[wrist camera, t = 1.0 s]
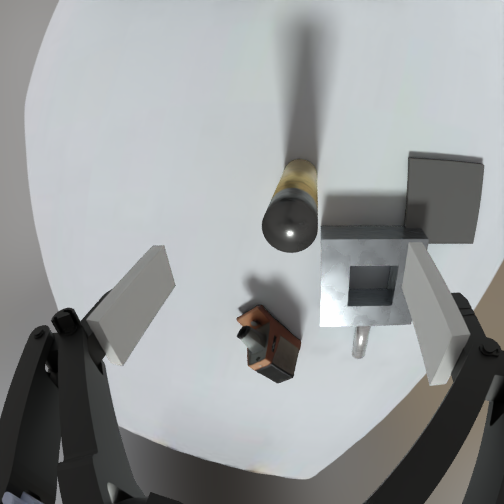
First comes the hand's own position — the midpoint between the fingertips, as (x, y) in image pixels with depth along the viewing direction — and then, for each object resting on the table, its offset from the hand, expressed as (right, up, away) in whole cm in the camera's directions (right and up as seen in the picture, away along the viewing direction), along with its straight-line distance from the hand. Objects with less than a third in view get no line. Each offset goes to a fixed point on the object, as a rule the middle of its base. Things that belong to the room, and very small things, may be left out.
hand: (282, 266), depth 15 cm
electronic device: (+1, -10, +27) cm, 29 cm away
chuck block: (+13, -5, +21) cm, 26 cm away
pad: (+20, +6, +13) cm, 25 cm away
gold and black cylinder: (+4, +9, +16) cm, 18 cm away
